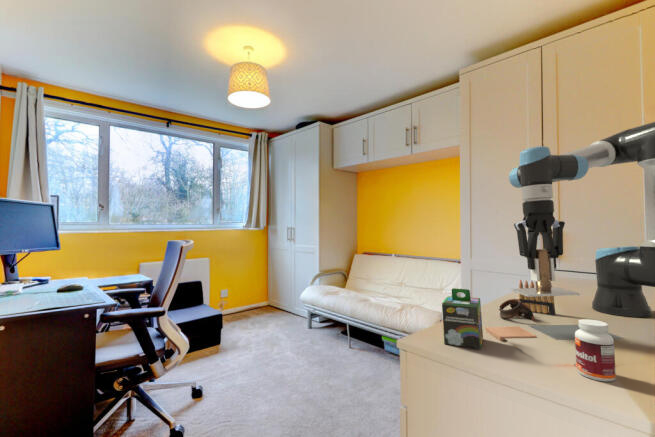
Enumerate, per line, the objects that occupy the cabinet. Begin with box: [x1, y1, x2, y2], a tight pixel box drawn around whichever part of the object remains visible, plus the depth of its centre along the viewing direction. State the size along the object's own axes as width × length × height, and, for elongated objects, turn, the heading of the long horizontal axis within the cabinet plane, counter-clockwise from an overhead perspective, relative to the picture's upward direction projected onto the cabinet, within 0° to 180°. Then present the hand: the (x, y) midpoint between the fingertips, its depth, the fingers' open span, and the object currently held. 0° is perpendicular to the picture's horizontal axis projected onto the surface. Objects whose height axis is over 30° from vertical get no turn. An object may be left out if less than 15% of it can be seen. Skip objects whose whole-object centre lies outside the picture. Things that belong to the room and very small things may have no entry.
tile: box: [484, 326, 537, 342], centre depth 87 cm, size 2×8×10 cm
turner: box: [510, 248, 580, 297], centre depth 88 cm, size 14×8×13 cm, turn 89°
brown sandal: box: [498, 298, 536, 323], centre depth 101 cm, size 12×10×8 cm
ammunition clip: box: [518, 279, 556, 317], centre depth 107 cm, size 11×2×12 cm, turn 44°
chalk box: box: [441, 288, 484, 351], centre depth 84 cm, size 9×9×15 cm
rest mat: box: [528, 324, 626, 341], centre depth 87 cm, size 18×12×1 cm, turn 89°
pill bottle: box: [574, 318, 617, 383], centre depth 63 cm, size 6×6×11 cm
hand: (542, 280), depth 87 cm, fingers closed on turner, 4 cm apart
